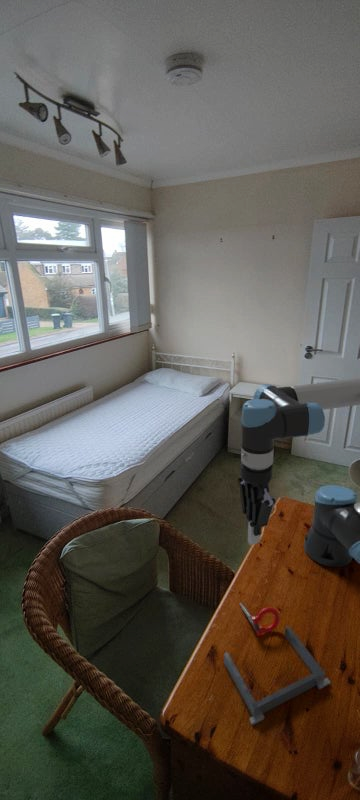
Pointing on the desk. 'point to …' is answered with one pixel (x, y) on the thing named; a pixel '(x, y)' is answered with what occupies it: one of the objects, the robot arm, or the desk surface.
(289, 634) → the bracket
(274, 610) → the tow hook
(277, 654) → the desk surface
